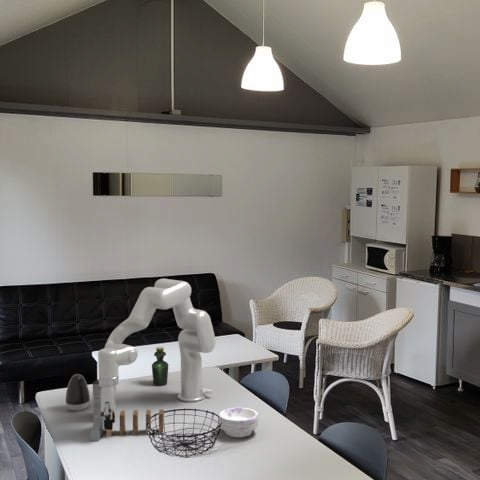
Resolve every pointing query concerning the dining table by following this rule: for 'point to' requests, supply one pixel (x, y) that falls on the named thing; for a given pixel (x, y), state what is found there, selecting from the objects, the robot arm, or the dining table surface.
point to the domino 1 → (109, 432)
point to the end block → (97, 428)
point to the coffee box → (98, 400)
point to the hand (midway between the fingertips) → (109, 425)
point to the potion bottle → (160, 368)
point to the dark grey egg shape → (77, 393)
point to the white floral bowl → (238, 421)
